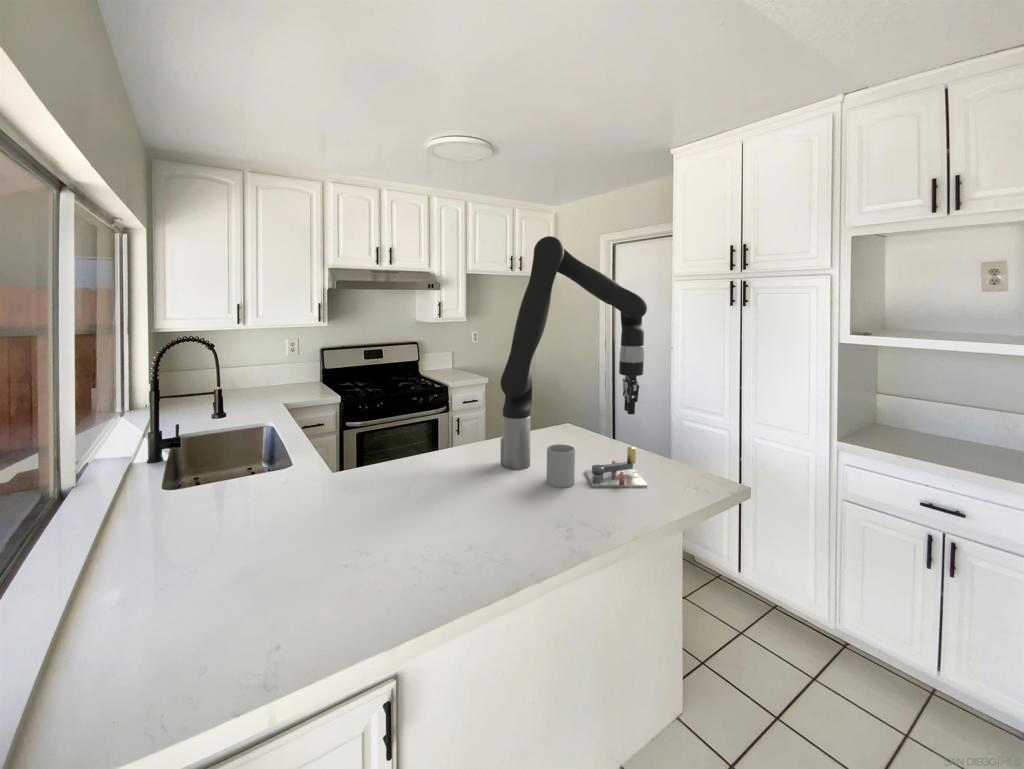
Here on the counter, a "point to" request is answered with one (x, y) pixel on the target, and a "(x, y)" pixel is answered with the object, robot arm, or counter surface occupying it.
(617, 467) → the crank lever
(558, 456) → the mug
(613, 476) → the crank base
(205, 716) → the counter surface
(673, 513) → the counter surface
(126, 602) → the counter surface
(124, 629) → the counter surface
